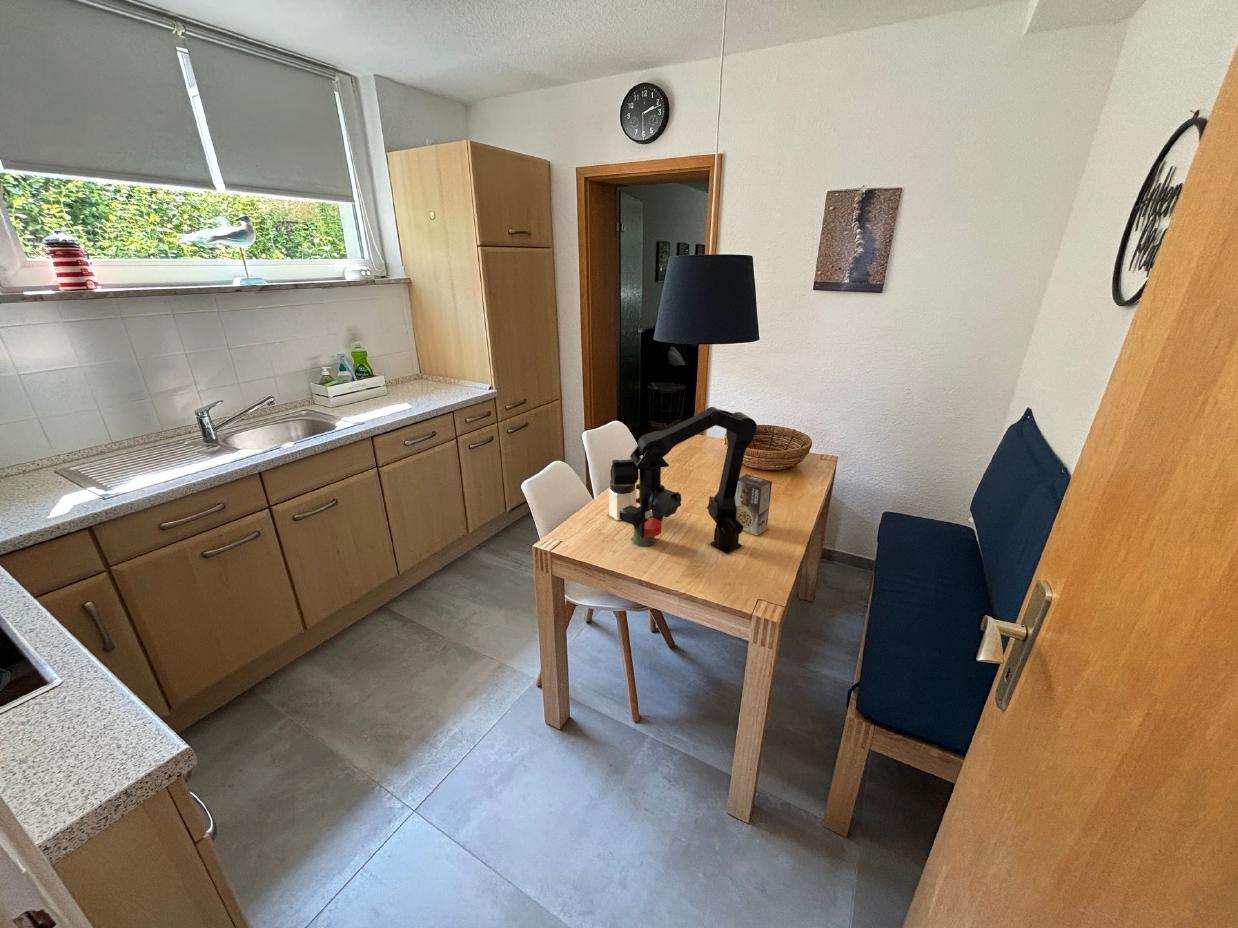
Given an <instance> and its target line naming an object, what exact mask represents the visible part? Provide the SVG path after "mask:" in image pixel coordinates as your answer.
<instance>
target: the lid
mask: <svg viewBox="0 0 1238 928" xmlns="http://www.w3.org/2000/svg"><path fill="white" fill-rule="evenodd" d="M646 519H649V520H648V521H647V522H646V523H645V528H644V536H645V537H654V538H655V537H657V536H660V535H661V534H662V528H663V527H662V524H663V522H661V521H659V520H658V519H655V518H646Z"/></svg>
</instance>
